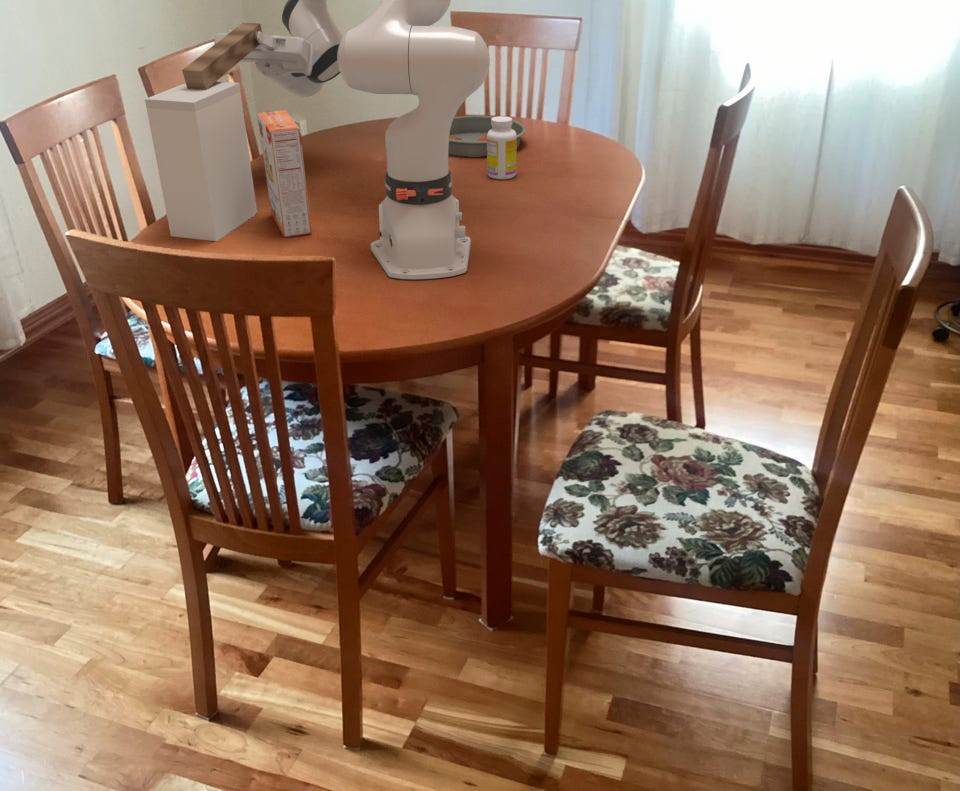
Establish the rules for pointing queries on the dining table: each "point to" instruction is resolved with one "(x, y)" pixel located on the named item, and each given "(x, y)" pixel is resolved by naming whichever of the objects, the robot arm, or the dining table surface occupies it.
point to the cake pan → (475, 135)
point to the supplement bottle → (501, 149)
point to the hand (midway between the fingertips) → (244, 34)
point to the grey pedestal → (202, 159)
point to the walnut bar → (221, 57)
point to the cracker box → (285, 172)
